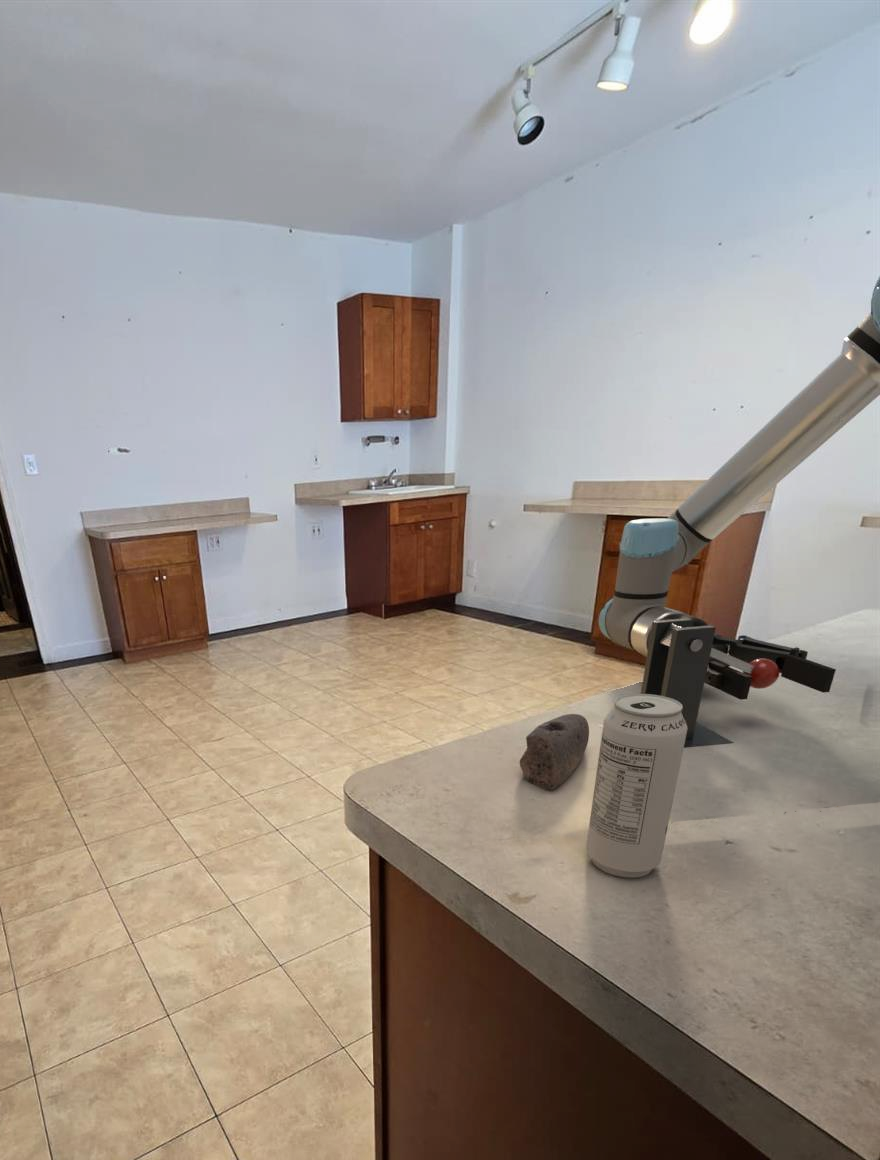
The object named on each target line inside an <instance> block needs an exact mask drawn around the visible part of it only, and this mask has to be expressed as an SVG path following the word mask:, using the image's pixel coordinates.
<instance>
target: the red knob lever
mask: <svg viewBox="0 0 880 1160" xmlns="http://www.w3.org/2000/svg"><path fill="white" fill-rule="evenodd" d="M673 628H682V627H679V626H677V625H674V624H671V625H670V627H669V628H668V630H667V632H666V633H665V635H664V637H663V638H662V640H661V641H660V643H662V644H664V645H666V646H669V647H670V641H671V636H672V630H673ZM728 654H729V653H727V654H726V653H723V652H721V651H719V650H716V649H714V648H712V649H711V653H710V657H711V658H713V659H716V660H718V661H721V662H723V663H725V664H728V665H730V667H731V668H734V669H736V670H738V671H741V672H743V673H745V674H748V675H750V676H753V677H752V681H751V685H750V688H753V689H761V690H762V689H767V688H768V687H771V686H772V685H774V684H775V683H776V682H777V681H778V679H779V676H780V673H779V668H778V666H777V664H776V663H775V662H773V661H772V660H769V659H764V658H761V659H756V660H753V661H751V662H750V663H747V662H744V661H742V660H740V659H737V658H735V657H733V656H730V655H728Z"/></svg>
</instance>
